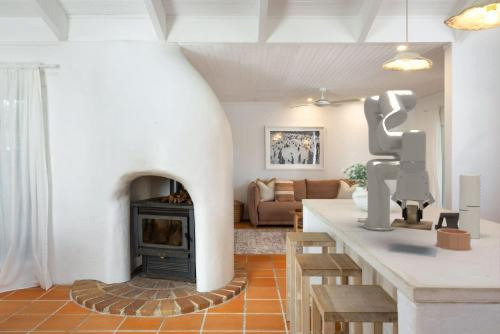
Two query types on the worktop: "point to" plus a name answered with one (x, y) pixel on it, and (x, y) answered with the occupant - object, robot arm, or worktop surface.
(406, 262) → the worktop surface
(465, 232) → the terracotta bowl
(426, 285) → the worktop surface
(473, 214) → the cylindrical container
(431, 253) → the slate mat
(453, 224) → the portable electronic device stand
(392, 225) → the square wooden lid
